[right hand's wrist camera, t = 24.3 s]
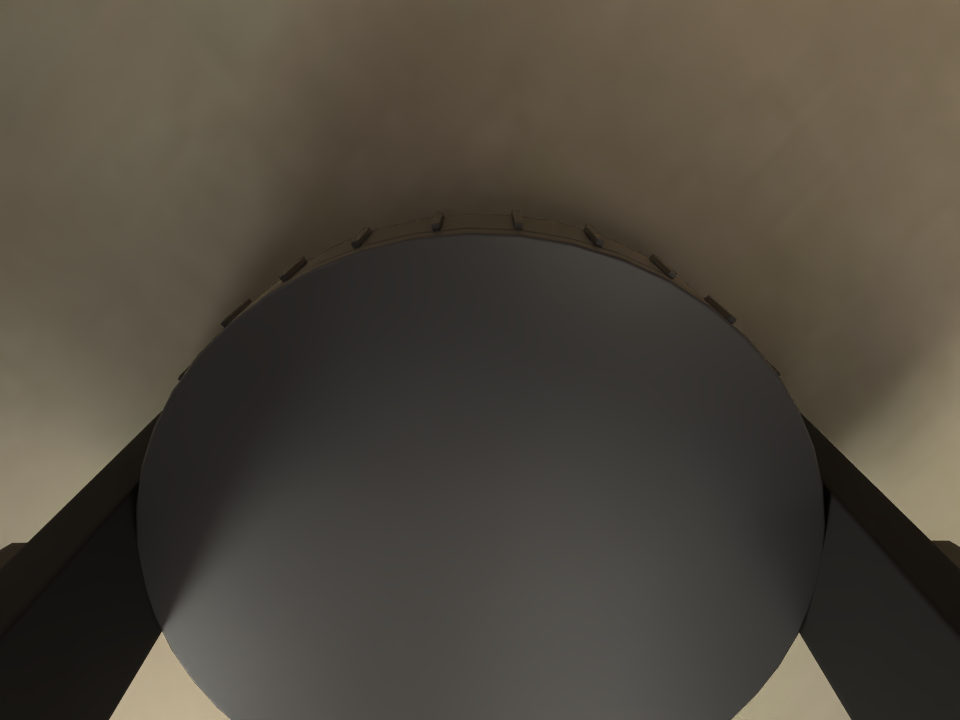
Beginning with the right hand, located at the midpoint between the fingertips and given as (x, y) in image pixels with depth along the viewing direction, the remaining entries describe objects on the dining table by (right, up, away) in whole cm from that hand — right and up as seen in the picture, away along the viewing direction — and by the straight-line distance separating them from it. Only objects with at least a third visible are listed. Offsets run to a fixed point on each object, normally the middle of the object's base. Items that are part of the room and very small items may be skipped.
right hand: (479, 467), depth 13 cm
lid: (0, -1, -3) cm, 3 cm away
